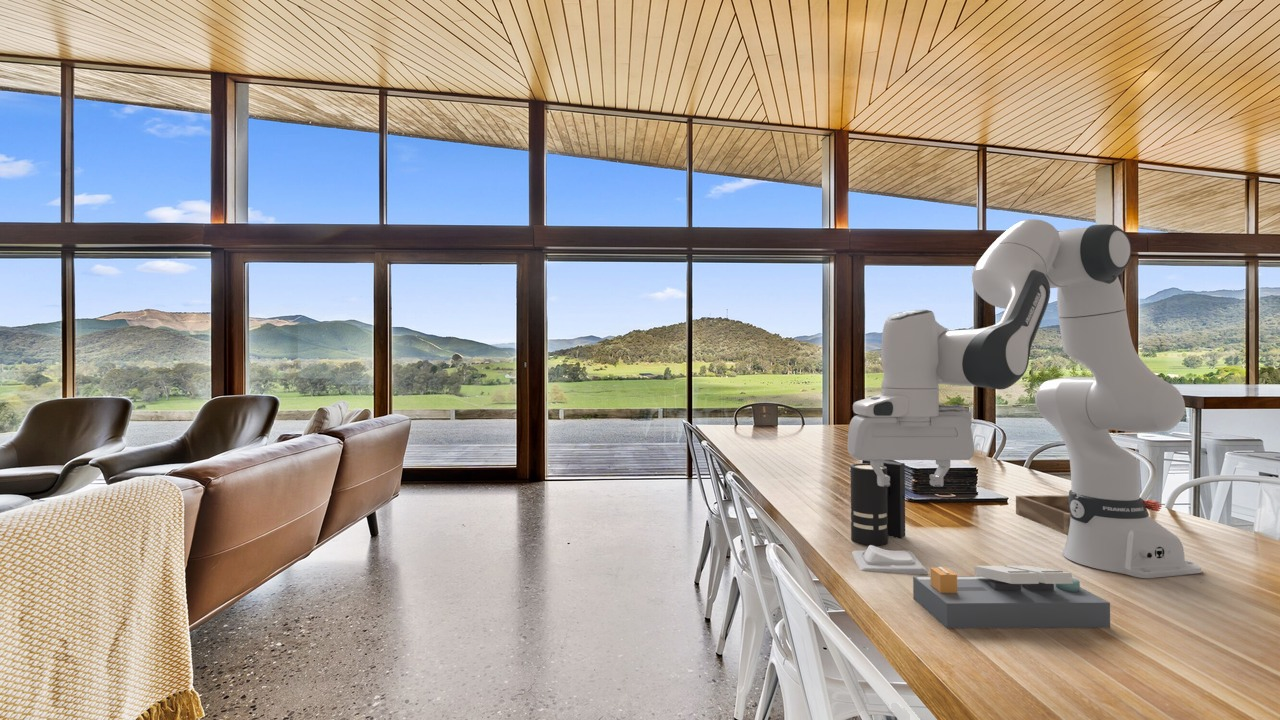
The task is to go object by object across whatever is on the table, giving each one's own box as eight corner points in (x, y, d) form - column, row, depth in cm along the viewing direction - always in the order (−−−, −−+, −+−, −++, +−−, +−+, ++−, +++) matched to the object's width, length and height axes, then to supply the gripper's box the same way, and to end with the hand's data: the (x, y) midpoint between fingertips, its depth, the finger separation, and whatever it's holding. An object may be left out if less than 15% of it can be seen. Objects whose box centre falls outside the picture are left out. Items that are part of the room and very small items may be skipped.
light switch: (849, 539, 123) (911, 539, 120) (851, 558, 123) (912, 558, 120) (859, 556, 112) (926, 557, 110) (860, 577, 112) (928, 577, 110)
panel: (1058, 597, 99) (1058, 570, 99) (1110, 627, 88) (1109, 596, 88) (913, 598, 99) (913, 570, 99) (947, 628, 88) (946, 597, 88)
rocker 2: (1031, 575, 98) (1029, 564, 98) (1073, 583, 88) (1071, 572, 89) (1006, 575, 98) (1004, 564, 98) (1045, 583, 88) (1043, 572, 89)
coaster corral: (1083, 513, 152) (1083, 495, 152) (1144, 534, 133) (1144, 513, 133) (1015, 513, 152) (1015, 495, 152) (1067, 534, 134) (1067, 514, 134)
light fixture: (841, 540, 131) (841, 465, 131) (866, 527, 141) (866, 458, 141) (883, 550, 124) (882, 471, 124) (906, 536, 133) (905, 463, 134)
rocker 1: (1000, 575, 98) (998, 564, 98) (1038, 583, 88) (1036, 572, 89) (975, 575, 98) (973, 564, 98) (1011, 583, 88) (1009, 572, 89)
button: (1069, 584, 95) (1069, 576, 95) (1084, 592, 91) (1084, 583, 91) (1051, 584, 95) (1051, 576, 95) (1065, 592, 92) (1065, 583, 92)
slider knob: (946, 584, 95) (946, 566, 95) (957, 592, 92) (957, 573, 92) (930, 584, 95) (930, 566, 95) (940, 592, 92) (940, 573, 92)
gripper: (960, 403, 97) (960, 481, 96) (843, 403, 97) (844, 481, 97) (982, 406, 90) (982, 490, 90) (857, 406, 90) (857, 490, 90)
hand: (910, 485), depth 93 cm, fingers open, 8 cm apart
